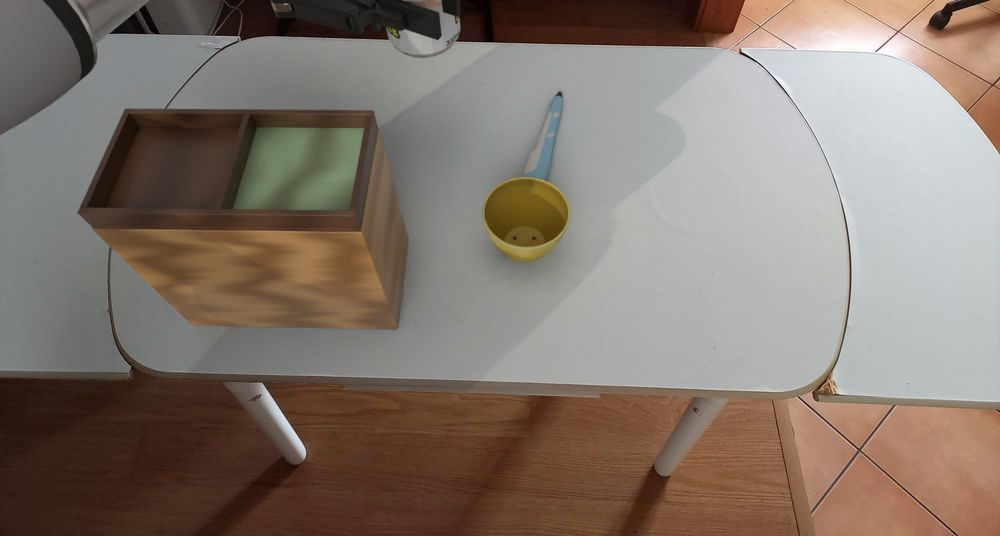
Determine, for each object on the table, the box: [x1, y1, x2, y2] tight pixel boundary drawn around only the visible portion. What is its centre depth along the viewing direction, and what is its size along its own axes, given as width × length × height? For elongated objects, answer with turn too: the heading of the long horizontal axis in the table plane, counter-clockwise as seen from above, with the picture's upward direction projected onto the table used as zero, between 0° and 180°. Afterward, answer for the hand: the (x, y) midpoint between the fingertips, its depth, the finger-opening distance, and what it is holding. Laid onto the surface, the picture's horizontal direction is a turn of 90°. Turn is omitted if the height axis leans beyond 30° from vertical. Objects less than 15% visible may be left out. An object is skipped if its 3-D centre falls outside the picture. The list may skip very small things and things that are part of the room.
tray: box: [77, 108, 379, 232], centre depth 56 cm, size 24×12×2 cm, turn 89°
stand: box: [92, 127, 409, 330], centre depth 66 cm, size 24×12×20 cm, turn 89°
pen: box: [521, 90, 564, 181], centre depth 84 cm, size 19×3×3 cm, turn 166°
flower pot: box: [482, 176, 571, 263], centre depth 73 cm, size 10×10×7 cm
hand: (448, 14), depth 61 cm, fingers closed on beverage can, 3 cm apart
